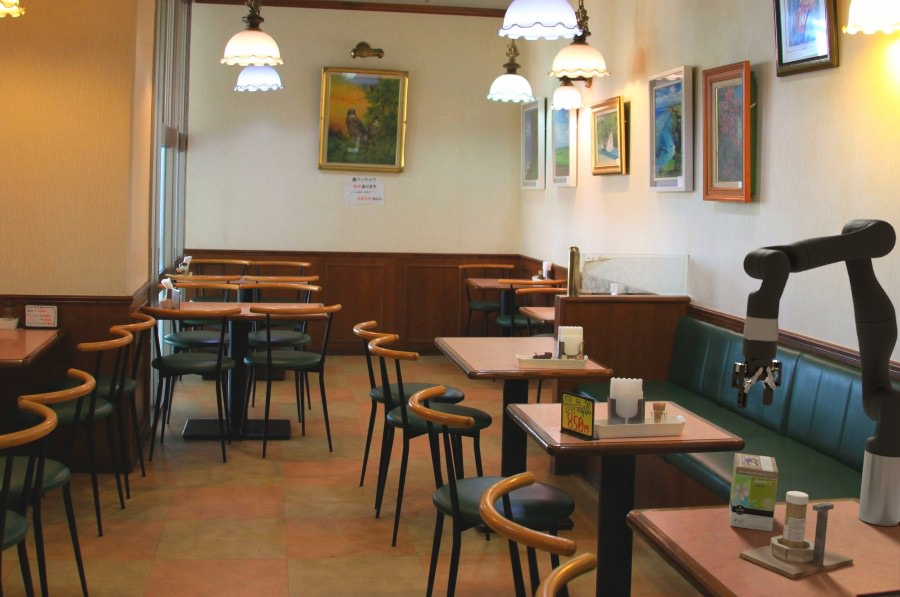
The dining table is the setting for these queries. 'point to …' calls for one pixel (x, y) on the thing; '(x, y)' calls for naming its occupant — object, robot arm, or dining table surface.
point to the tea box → (753, 492)
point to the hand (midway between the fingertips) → (754, 406)
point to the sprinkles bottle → (795, 519)
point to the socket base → (792, 565)
